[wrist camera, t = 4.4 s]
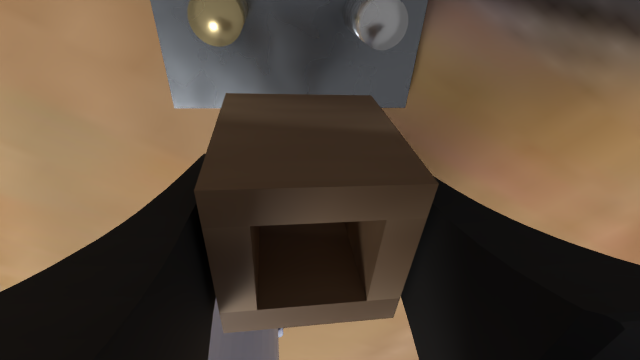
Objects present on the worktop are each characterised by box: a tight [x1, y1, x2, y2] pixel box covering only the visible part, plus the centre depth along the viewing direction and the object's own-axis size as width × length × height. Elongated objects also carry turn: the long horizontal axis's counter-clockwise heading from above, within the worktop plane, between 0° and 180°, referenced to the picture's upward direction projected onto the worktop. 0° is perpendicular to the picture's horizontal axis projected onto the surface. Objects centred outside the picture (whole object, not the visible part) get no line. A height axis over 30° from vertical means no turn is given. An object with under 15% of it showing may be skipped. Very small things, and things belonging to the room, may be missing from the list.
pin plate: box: [150, 0, 428, 108], centre depth 13 cm, size 9×12×4 cm
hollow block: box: [194, 93, 439, 333], centre depth 9 cm, size 5×5×5 cm
